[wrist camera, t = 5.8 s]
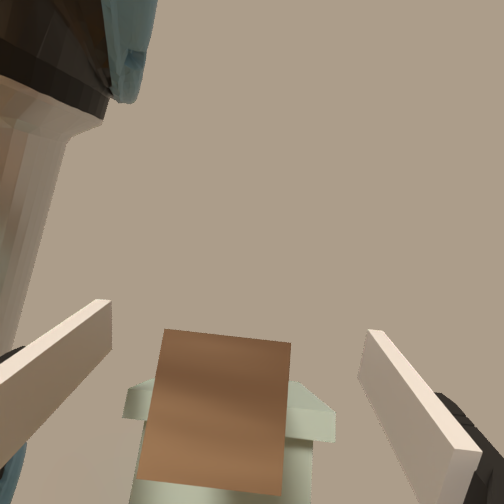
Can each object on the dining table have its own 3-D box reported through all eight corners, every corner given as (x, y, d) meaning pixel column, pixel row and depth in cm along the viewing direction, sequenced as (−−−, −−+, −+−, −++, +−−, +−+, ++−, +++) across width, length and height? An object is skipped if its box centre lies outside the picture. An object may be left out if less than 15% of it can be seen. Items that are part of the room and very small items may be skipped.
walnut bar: (281, 496, 7) (291, 342, 8) (136, 479, 7) (164, 328, 8) (254, 372, 32) (257, 339, 33) (222, 368, 32) (227, 336, 33)
